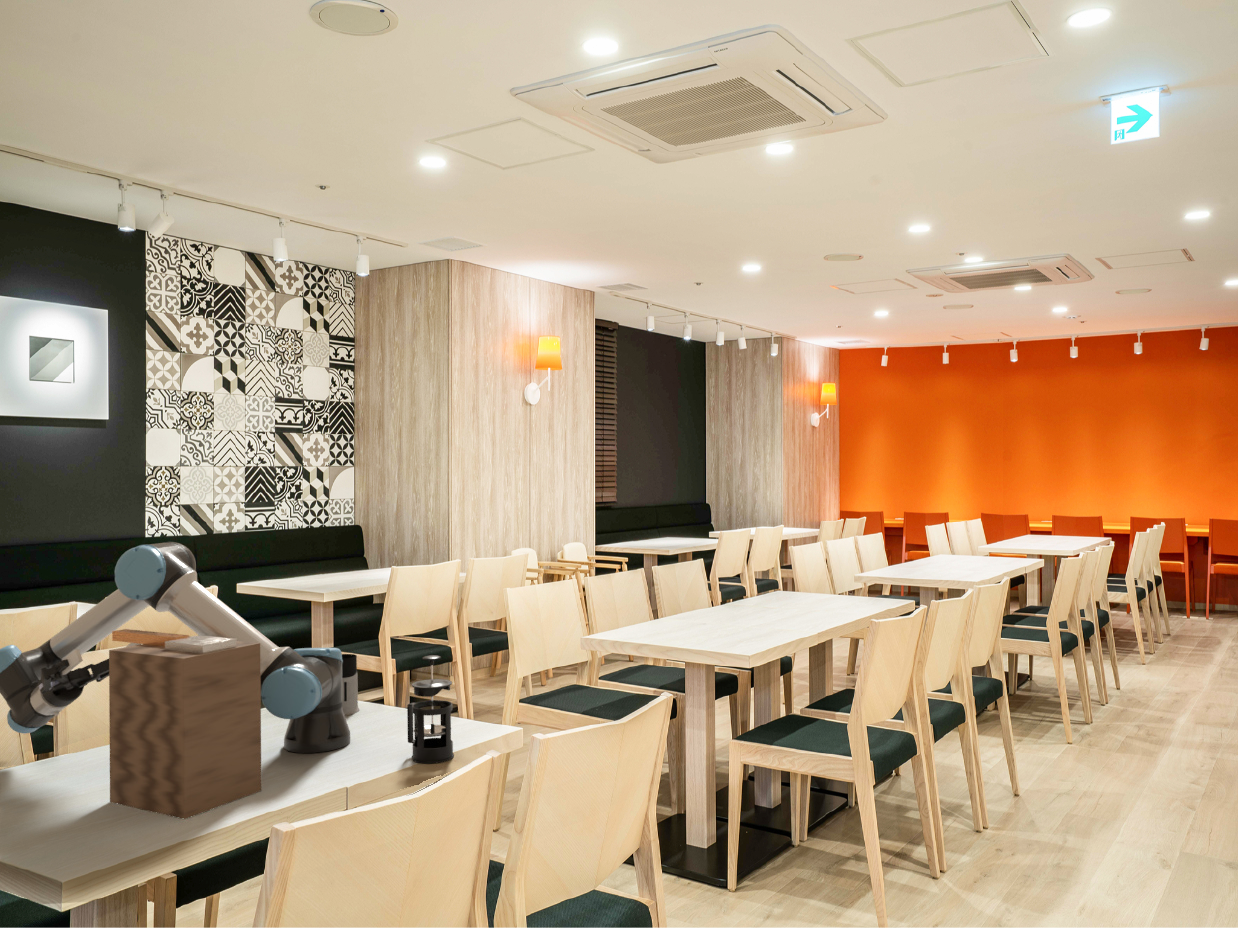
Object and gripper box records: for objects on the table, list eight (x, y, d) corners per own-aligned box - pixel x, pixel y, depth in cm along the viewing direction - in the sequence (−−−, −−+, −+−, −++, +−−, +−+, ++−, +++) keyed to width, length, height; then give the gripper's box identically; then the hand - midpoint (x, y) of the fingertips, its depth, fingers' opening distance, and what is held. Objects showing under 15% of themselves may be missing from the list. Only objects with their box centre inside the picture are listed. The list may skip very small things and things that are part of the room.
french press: (464, 754, 218) (463, 653, 218) (439, 766, 209) (438, 661, 209) (422, 749, 223) (421, 650, 223) (396, 760, 214) (395, 657, 214)
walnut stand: (109, 801, 188) (109, 649, 189) (188, 776, 204) (187, 636, 205) (184, 819, 178) (183, 658, 179) (261, 790, 194) (260, 643, 195)
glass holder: (362, 707, 265) (362, 653, 265) (350, 720, 251) (349, 663, 251) (331, 707, 264) (330, 653, 265) (316, 720, 250) (315, 663, 250)
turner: (101, 642, 198) (101, 632, 198) (136, 636, 205) (136, 627, 205) (202, 653, 184) (202, 643, 184) (236, 646, 191) (236, 636, 191)
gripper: (116, 695, 221) (168, 655, 212) (4, 720, 199) (57, 676, 190) (105, 665, 223) (156, 624, 214) (-7, 687, 201) (45, 642, 192)
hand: (110, 649), depth 202 cm, fingers open, 13 cm apart
